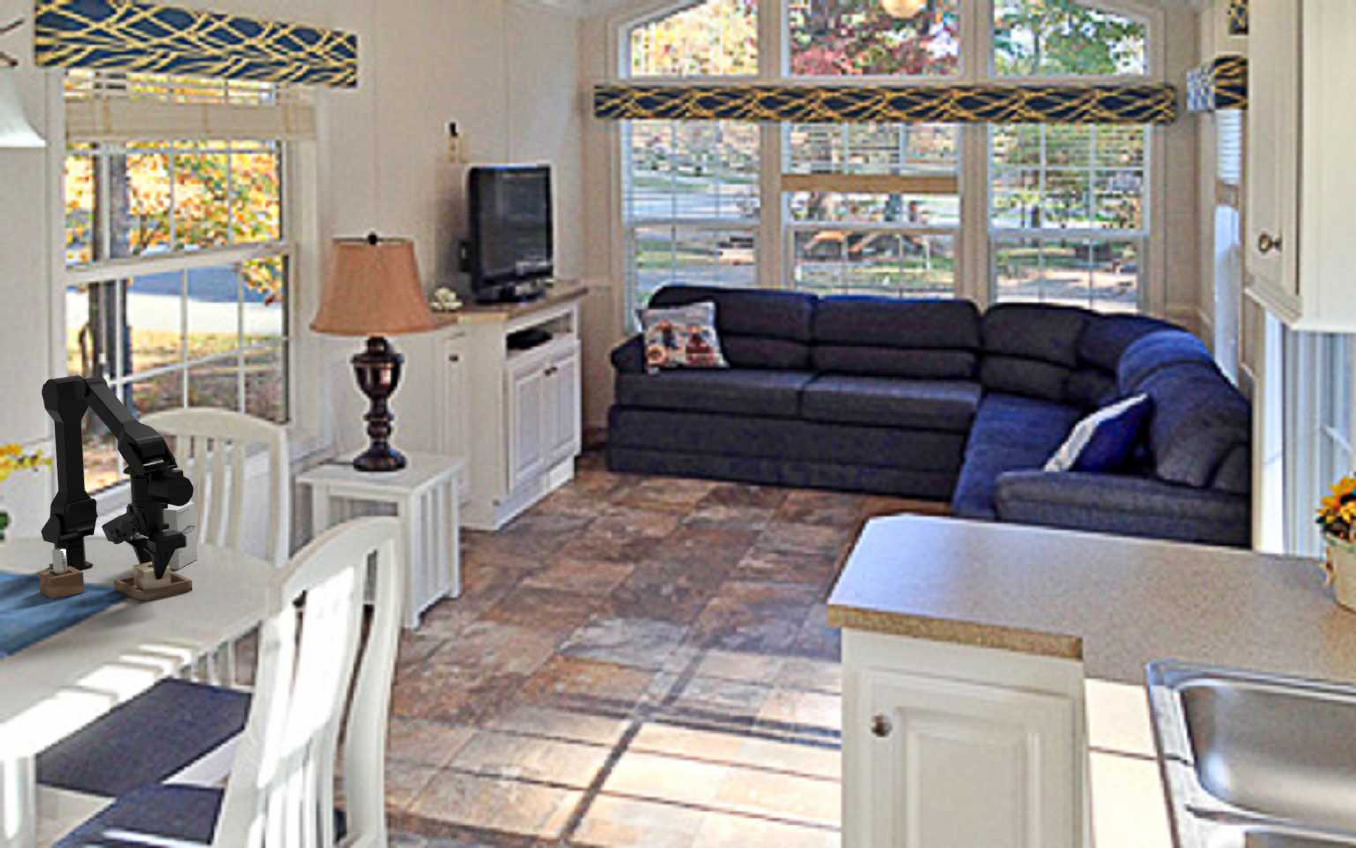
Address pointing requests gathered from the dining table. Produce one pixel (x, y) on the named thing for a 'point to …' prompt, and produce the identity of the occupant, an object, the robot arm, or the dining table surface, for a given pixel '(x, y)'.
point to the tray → (134, 592)
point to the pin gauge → (59, 561)
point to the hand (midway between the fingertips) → (152, 576)
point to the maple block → (149, 576)
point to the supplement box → (185, 524)
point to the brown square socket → (61, 583)
